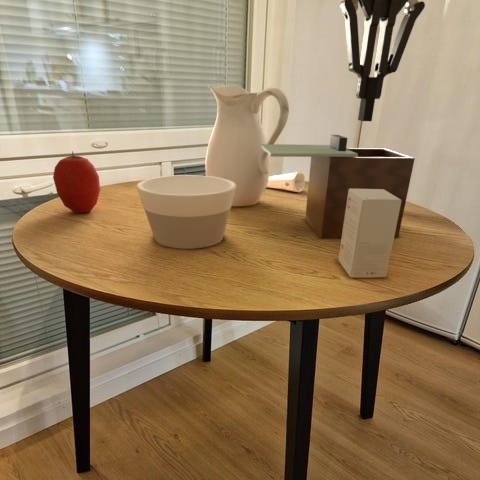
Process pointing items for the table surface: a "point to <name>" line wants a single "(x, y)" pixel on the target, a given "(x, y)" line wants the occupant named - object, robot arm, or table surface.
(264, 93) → the pitcher
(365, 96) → the robot arm
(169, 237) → the bowl
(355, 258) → the small box
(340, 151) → the sliding box lid
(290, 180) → the long cone
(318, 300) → the table surface
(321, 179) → the case
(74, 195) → the apple
